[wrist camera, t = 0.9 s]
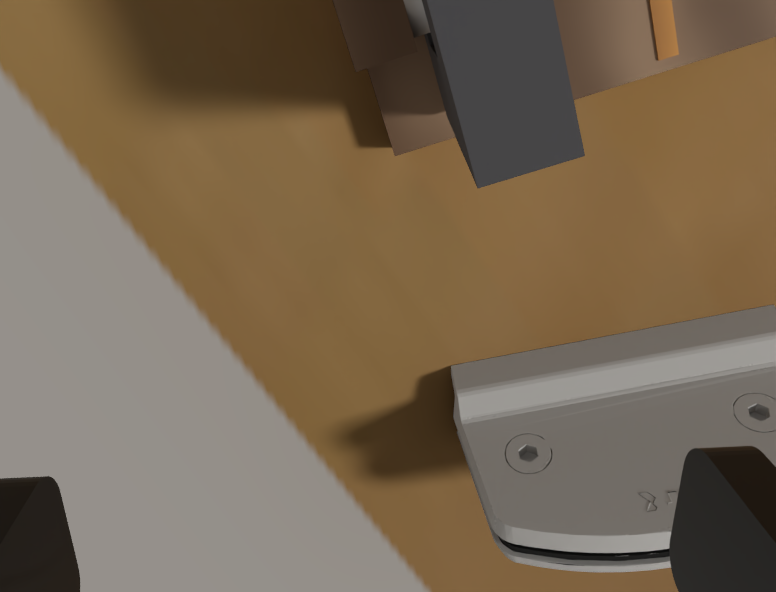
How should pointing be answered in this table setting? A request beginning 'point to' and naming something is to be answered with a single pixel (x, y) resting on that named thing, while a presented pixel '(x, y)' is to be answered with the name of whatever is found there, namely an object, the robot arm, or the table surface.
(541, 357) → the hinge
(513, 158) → the collar
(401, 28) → the pipe stand
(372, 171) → the table surface
